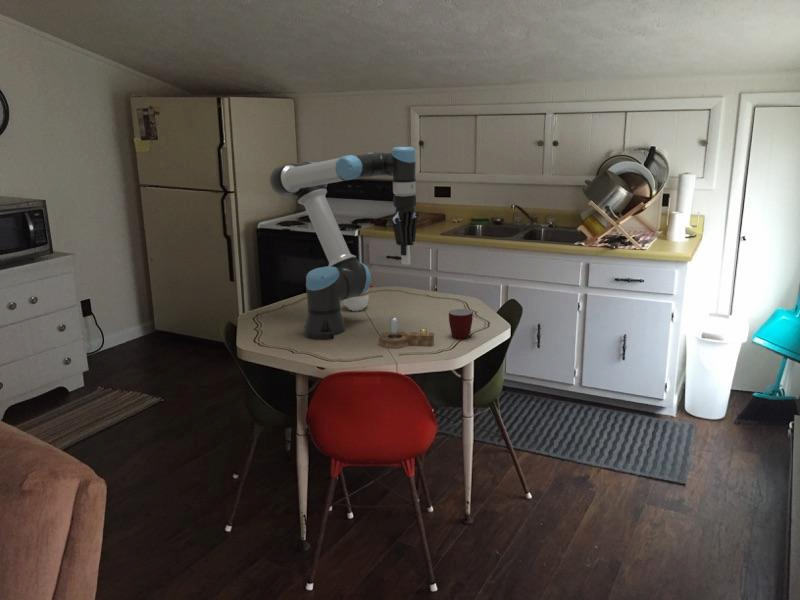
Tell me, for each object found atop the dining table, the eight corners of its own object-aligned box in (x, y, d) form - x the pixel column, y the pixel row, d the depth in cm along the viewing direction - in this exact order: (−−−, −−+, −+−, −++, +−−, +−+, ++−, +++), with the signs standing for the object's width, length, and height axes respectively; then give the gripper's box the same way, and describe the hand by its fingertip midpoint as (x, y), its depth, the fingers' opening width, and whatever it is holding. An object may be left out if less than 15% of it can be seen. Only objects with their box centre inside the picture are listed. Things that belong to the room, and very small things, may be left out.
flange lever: (377, 347, 228) (377, 337, 228) (383, 337, 238) (382, 328, 237) (431, 349, 226) (431, 339, 225) (434, 339, 235) (434, 329, 234)
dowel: (419, 343, 232) (419, 329, 230) (423, 341, 234) (422, 327, 232) (424, 344, 231) (424, 330, 229) (428, 342, 232) (428, 328, 231)
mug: (447, 334, 244) (447, 307, 241) (469, 333, 244) (470, 306, 242) (450, 344, 234) (450, 315, 231) (473, 343, 234) (474, 315, 231)
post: (388, 343, 232) (387, 318, 230) (394, 341, 234) (393, 316, 232) (395, 345, 230) (395, 319, 228) (401, 342, 233) (400, 317, 230)
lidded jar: (340, 312, 274) (339, 289, 271) (345, 305, 284) (344, 283, 281) (367, 313, 272) (366, 290, 270) (371, 305, 283) (370, 283, 280)
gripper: (401, 197, 221) (403, 269, 227) (425, 193, 231) (426, 261, 237) (383, 196, 225) (385, 266, 232) (407, 191, 235) (408, 259, 242)
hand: (406, 264), depth 235 cm, fingers closed
